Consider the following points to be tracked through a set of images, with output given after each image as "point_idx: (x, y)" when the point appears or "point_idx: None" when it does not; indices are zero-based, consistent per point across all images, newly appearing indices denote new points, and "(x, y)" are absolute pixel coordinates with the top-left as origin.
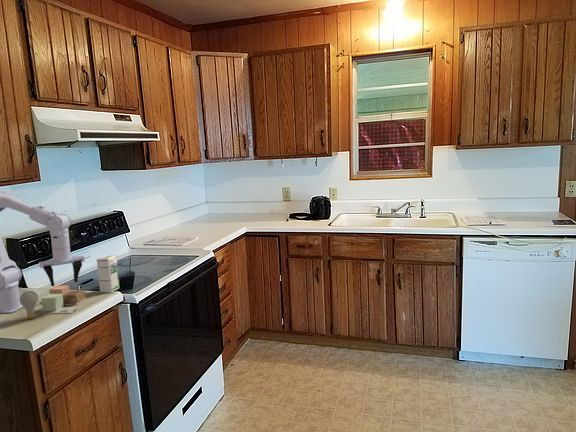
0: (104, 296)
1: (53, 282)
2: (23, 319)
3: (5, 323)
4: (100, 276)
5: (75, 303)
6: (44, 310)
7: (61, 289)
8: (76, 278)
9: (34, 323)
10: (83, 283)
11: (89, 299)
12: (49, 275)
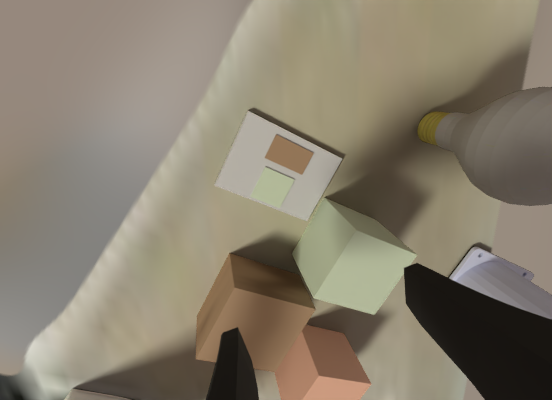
0: (102, 339)
1: (433, 281)
2: None
3: None
4: None
5: (239, 260)
6: (371, 219)
7: (318, 375)
8: (227, 357)
9: (422, 29)
10: None
11: (178, 315)
12: (548, 323)
